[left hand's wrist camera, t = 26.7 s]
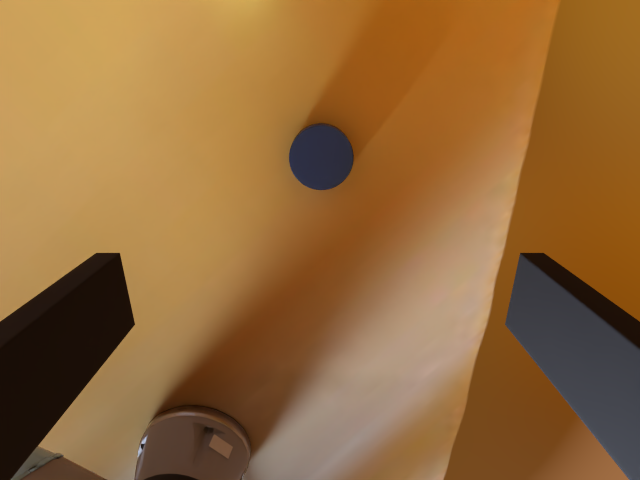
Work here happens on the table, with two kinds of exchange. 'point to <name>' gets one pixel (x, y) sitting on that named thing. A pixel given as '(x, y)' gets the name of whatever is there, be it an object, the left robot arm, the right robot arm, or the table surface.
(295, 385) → the table surface
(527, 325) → the left robot arm
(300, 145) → the lid
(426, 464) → the table surface
